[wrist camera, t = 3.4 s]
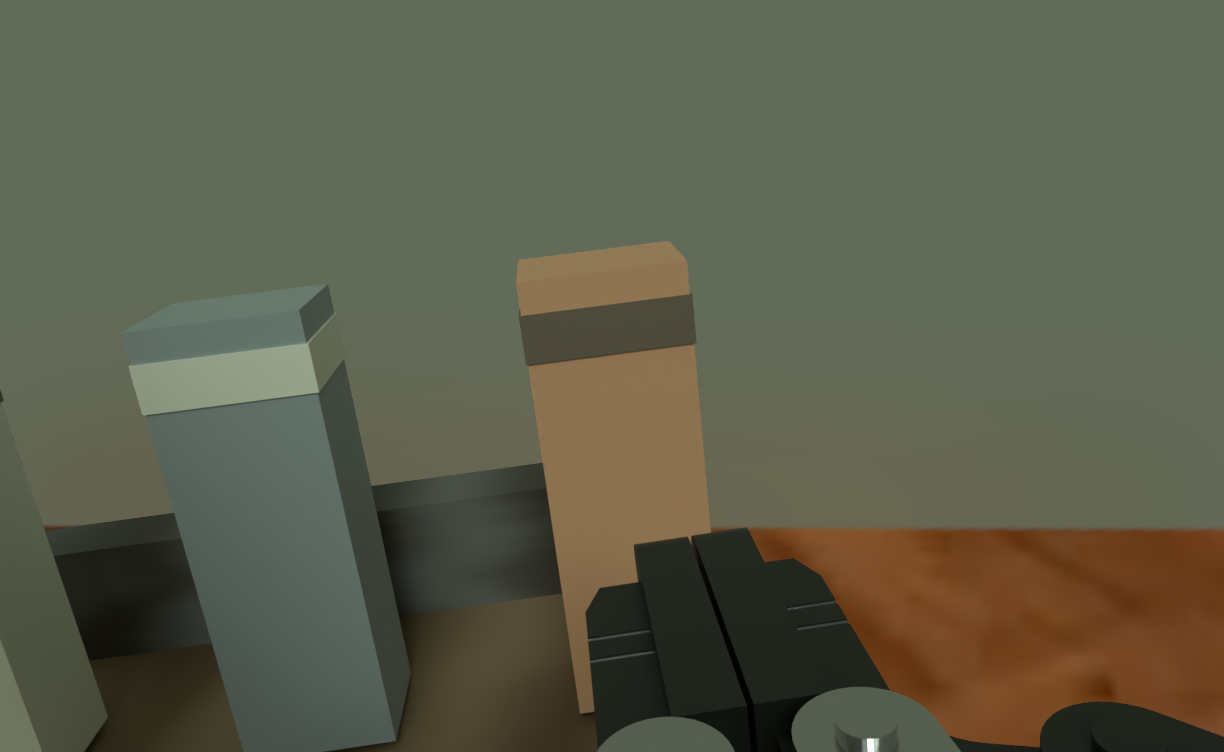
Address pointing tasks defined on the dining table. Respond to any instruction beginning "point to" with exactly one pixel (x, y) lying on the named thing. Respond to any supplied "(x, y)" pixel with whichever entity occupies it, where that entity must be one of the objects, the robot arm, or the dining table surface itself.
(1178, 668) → the dining table surface
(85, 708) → the white tall block
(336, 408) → the slate key
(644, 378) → the tan tall block
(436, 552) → the dark grey block stand
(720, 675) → the robot arm
